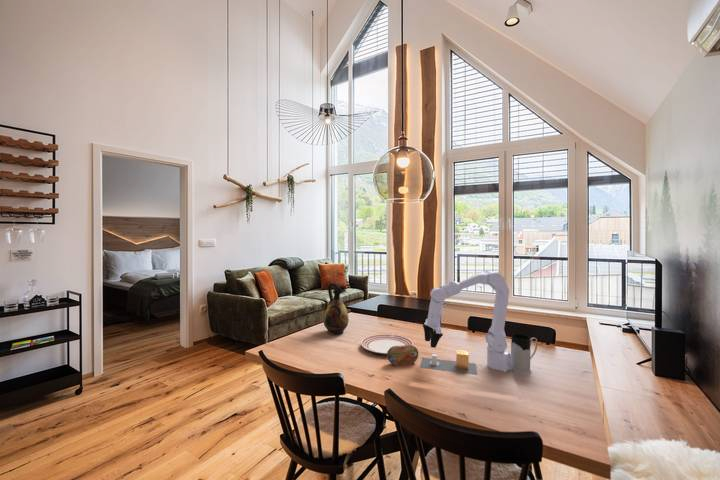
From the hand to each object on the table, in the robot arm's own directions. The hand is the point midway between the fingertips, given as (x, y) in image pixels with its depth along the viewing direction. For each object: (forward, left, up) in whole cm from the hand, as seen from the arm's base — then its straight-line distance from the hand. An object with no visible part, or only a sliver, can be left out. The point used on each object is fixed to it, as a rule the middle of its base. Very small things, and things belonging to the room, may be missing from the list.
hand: (430, 344), depth 146 cm
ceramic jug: (+68, -1, -11) cm, 69 cm away
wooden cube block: (-12, -7, -9) cm, 17 cm away
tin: (+11, +6, -11) cm, 17 cm away
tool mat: (-7, -4, -11) cm, 13 cm away
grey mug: (-31, -29, -11) cm, 44 cm away
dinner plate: (+29, -4, -11) cm, 32 cm away
